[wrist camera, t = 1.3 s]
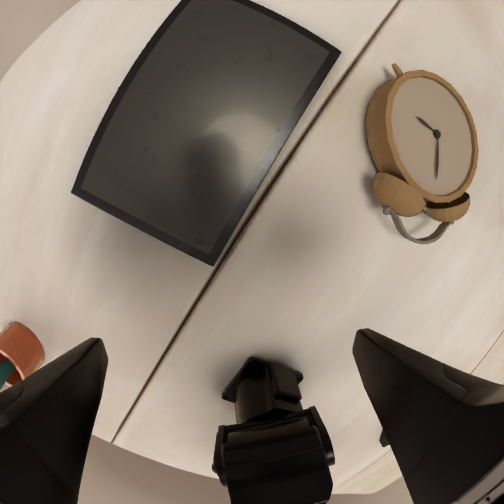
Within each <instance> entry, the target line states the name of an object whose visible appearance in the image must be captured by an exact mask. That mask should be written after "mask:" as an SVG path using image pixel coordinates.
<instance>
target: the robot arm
mask: <svg viewBox="0 0 504 504" xmlns="http://www.w3.org/2000/svg"><path fill="white" fill-rule="evenodd" d="M353 355H354V358H355V361H356V364H357V367H358V370H359V373H360V376H361V379H362V382H363V385H364V388H365V390H366V392H367V394H368V396H369V399H370V401H371V403H372V405H373V407H374V410H375V412H376V414H377V416H378V418H379V421H380V423H381V425H382V427H383V430H384V432H385V434H386V437H387V439H388V441H389V444H390V446H391V448H392V451H393V453H394V455H395V458H396V460H397V462H398V465H399V467H400V470H401V472H402V475H403V477H404V480H405V482H406V485H407V487H408V490H409V492H410V495H411V498H412V500H413V503H414V504H457V503H458V504H504V385H502V384H497V383H494V382H491V381H488V380H485V379H482V378H479V377H476V376H473V375H471V374H468V373H465V372H463V371H460V370H458V369H455V368H453V367H451V366H449V365H446V364H444V363H441V362H440V361H437V360H435V359H433V358H431V357H429V356H427V355H424V354H422V353H420V352H418V351H416V350H414V349H411V348H409V347H407V346H405V345H403V344H401V343H398V342H396V341H394V340H392V339H390V338H388V337H386V336H384V335H381V334H379V333H377V332H375V331H373V330H371V329H369V328H365V329H359V330H358V331H357V332H356V336H355V340H354V344H353ZM252 361H254V362H253V363H251V362H252ZM107 365H108V356H107V353H106V350H105V347H104V343H103V341H102V339H100V338H89V339H88V340H86V341H84V342H83V343H81V344H79V345H78V346H76V347H74V348H73V349H71V350H70V351H68V352H66V353H65V354H63V355H61V356H60V357H58V358H57V359H55V360H53V361H52V362H50V363H48V364H47V365H45V366H44V367H42V368H40V369H39V370H37V371H36V372H34V373H32V374H31V375H29V376H27V377H26V378H24V380H21V381H19V382H18V383H16V384H15V385H13V386H11V387H10V388H8V389H6V390H4V391H2V392H1V393H0V504H77V501H78V495H79V488H80V483H81V478H82V473H83V468H84V463H85V459H86V454H87V450H88V446H89V442H90V438H91V434H92V430H93V426H94V422H95V419H96V415H97V411H98V408H99V404H100V401H101V397H102V392H103V386H104V381H105V376H106V370H107ZM297 377H298V378H297ZM302 380H303V374H302V373H300V372H297V371H294V370H292V369H290V368H287V367H284V366H281V365H278V364H275V363H270V362H267V361H264V360H262V359H259V358H256V357H250V358H248V360H247V361H246V362H245V364H244V365H243V366H242V368H241V369H240V370H239V372H238V373H237V374H236V376H235V377H234V378H233V380H232V381H231V382H230V384H229V385H228V386H227V387H226V389H225V390H224V391H223V393H222V399H224V400H227V401H230V402H233V403H235V410H236V421H237V424H234V425H228V426H225V425H221V426H219V429H218V433H217V436H216V444H215V451H214V459H213V460H214V461H213V464H212V470H213V471H214V472H215V473H216V474H218V476H219V479H220V481H221V483H222V485H223V486H224V487H226V486H227V487H228V491H229V495H230V499H231V504H326V503H327V502H328V501H329V498H330V495H331V492H332V487H333V482H332V478H331V474H330V470H329V466H331V465H334V464H335V457H334V452H333V447H332V444H331V440H330V437H329V435H328V432H327V430H326V428H325V426H324V424H323V422H322V420H321V418H320V416H319V413H318V411H317V409H316V407H315V406H312V407H309V408H308V409H305V410H303V408H302V405H301V402H300V400H301V399H302V397H301V393H300V390H299V387H298V384H299V383H300V382H301V381H302Z"/></svg>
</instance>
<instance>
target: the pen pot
mask: <svg viewBox="0 0 504 504" xmlns="http://www.w3.org/2000/svg"><path fill="white" fill-rule="evenodd" d="M5 357H7V358H8V359H9V360H10V361H11V362H12V363H13V364H14V366H15V367H16V368H15V369H14V371H13V372H12V373H11V375H10V376H9V378H8V379H7V381H6V382H5V384H7V385H8V386H10V387H11V386H13V385H15V384H16V383H18V382H19V381H21V380H24V378H26V377H27V376H29V375H31V374H32V373H34V372H36V371H37V370H38V368H39V367H40V365H41V364H42V362H43V360H44V351H43V348H42V346H41V344H40V342H39V341H38V339H37V338H36V336H35V335H34V334H33V333H32V332H31V331H30V330H29V329H28V328H26V327H25V326H23V325H21V324H19V323H10V324H9V325H8V326H7V327H6V328H5V329H4V330H3V331H2V332H1V333H0V364H1V362H2V361H3V360H4V359H5Z"/></svg>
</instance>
